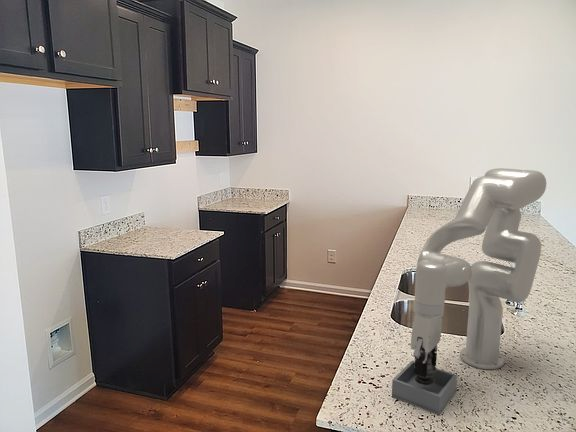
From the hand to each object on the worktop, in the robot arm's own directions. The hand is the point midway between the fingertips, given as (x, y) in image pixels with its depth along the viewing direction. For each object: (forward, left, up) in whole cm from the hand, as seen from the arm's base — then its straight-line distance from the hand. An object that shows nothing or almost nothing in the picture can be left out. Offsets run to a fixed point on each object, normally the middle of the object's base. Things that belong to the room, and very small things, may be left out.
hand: (425, 369), depth 122 cm
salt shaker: (0, 0, -3) cm, 3 cm away
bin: (0, 0, -7) cm, 7 cm away
